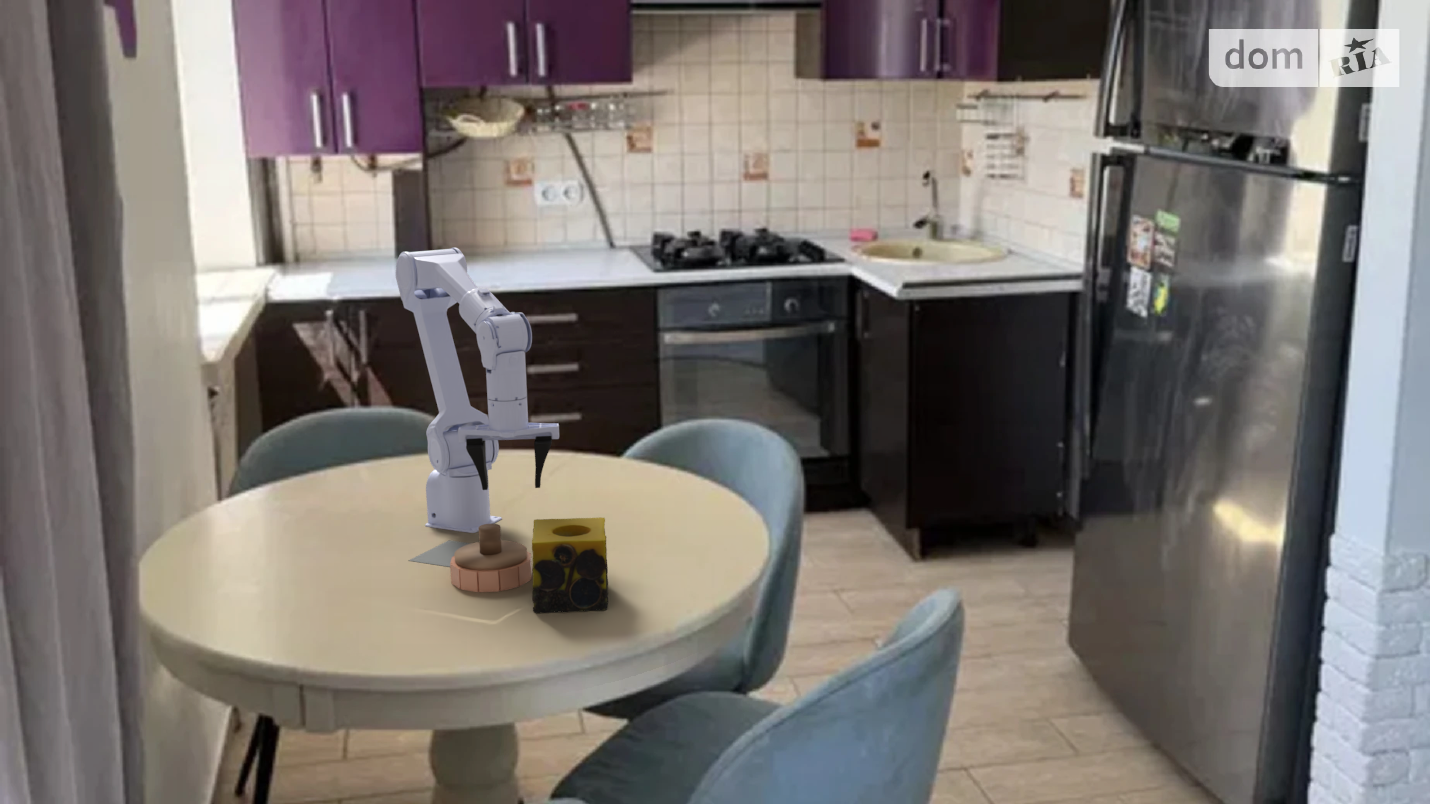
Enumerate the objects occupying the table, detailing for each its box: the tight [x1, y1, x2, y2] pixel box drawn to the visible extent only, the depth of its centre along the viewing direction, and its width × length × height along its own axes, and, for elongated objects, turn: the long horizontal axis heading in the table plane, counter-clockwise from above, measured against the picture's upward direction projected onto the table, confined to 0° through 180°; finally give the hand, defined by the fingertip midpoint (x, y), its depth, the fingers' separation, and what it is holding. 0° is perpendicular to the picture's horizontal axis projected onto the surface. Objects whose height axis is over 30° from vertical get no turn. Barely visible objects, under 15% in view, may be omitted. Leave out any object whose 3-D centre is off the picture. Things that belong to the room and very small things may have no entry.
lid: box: [454, 523, 528, 571], centre depth 191 cm, size 10×10×5 cm
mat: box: [408, 539, 473, 568], centre depth 202 cm, size 10×10×1 cm
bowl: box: [449, 550, 533, 593], centre depth 192 cm, size 11×11×3 cm
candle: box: [531, 516, 609, 614], centre depth 184 cm, size 10×10×10 cm
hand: (511, 487), depth 202 cm, fingers open, 7 cm apart
